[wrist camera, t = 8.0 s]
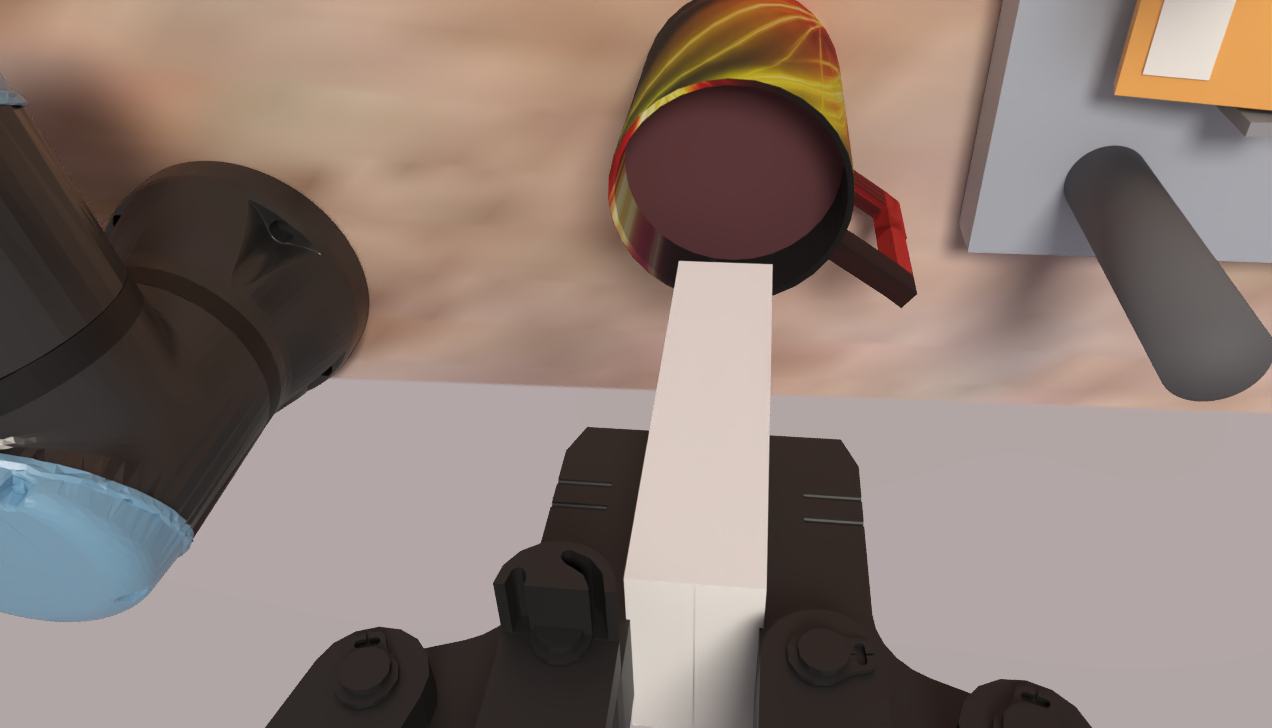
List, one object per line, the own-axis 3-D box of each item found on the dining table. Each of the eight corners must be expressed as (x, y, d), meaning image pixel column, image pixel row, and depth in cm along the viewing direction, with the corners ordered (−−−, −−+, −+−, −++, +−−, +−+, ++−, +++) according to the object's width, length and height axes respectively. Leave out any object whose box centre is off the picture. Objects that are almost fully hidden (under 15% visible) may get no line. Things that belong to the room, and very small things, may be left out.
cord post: (1055, 215, 45) (1145, 398, 34) (1074, 144, 43) (1177, 316, 32) (1134, 217, 44) (1252, 404, 33) (1157, 146, 42) (1291, 320, 31)
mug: (892, 205, 49) (918, 338, 39) (632, 160, 49) (595, 280, 40) (954, 20, 43) (1002, 123, 34) (658, -31, 43) (623, 57, 34)
